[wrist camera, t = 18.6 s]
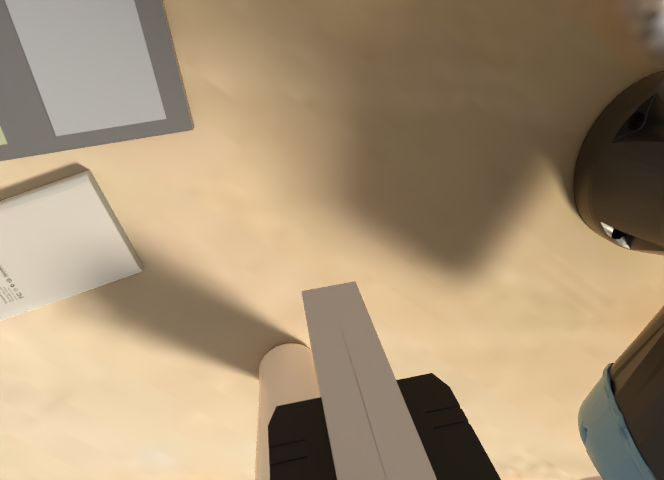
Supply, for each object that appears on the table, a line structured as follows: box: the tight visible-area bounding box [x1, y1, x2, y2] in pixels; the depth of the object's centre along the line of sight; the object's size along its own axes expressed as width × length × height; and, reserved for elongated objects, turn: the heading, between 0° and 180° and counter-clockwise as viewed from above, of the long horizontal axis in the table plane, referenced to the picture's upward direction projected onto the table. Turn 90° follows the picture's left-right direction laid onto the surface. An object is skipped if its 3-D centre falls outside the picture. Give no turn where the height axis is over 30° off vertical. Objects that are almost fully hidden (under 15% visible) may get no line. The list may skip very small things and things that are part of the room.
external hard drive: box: [0, 170, 144, 321], centre depth 35 cm, size 2×8×12 cm
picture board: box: [0, 0, 194, 161], centre depth 29 cm, size 20×12×1 cm, turn 97°
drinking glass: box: [255, 343, 320, 480], centre depth 37 cm, size 7×7×15 cm
